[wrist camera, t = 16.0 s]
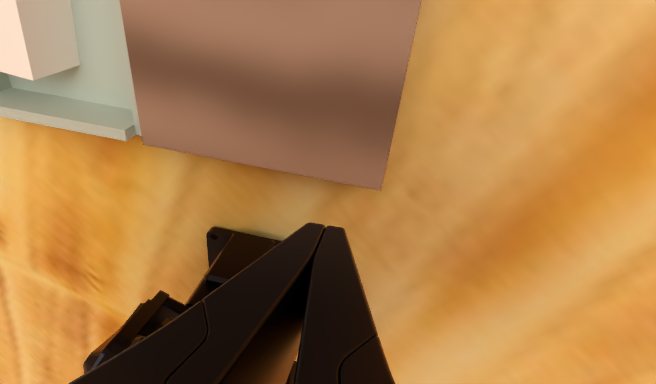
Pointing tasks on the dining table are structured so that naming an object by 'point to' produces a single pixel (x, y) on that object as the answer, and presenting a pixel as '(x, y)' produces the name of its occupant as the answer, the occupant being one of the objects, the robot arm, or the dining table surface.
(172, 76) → the plate
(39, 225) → the dining table surface
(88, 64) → the tray
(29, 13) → the pale pink cube
